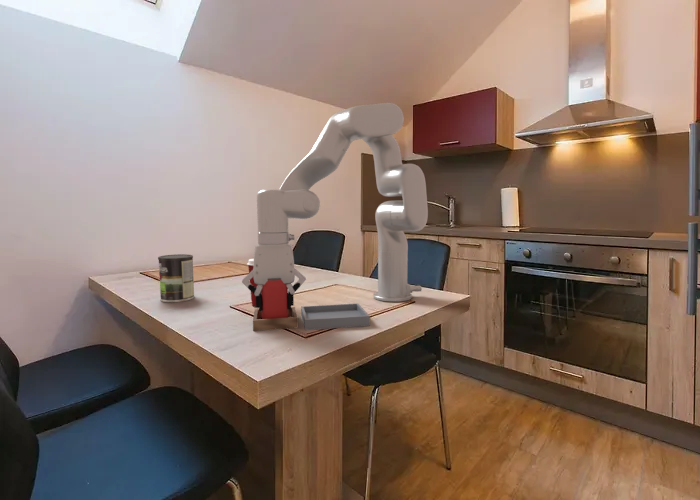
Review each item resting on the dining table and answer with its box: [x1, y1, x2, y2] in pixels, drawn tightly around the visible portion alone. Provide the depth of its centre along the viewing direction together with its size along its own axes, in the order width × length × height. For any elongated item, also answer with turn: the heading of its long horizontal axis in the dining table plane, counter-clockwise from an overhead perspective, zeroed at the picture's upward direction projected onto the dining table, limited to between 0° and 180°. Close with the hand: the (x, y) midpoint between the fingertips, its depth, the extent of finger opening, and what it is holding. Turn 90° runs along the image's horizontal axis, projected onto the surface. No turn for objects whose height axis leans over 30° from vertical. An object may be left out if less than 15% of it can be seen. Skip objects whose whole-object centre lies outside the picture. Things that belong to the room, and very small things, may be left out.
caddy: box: [252, 306, 299, 332], centre depth 96 cm, size 11×11×2 cm
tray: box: [300, 303, 371, 331], centre depth 98 cm, size 16×13×2 cm
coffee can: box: [157, 253, 195, 303], centre depth 122 cm, size 10×10×14 cm
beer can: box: [261, 278, 289, 319], centre depth 96 cm, size 7×7×12 cm
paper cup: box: [246, 258, 257, 308], centre depth 114 cm, size 8×8×14 cm
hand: (275, 308), depth 96 cm, fingers closed on beer can, 6 cm apart
